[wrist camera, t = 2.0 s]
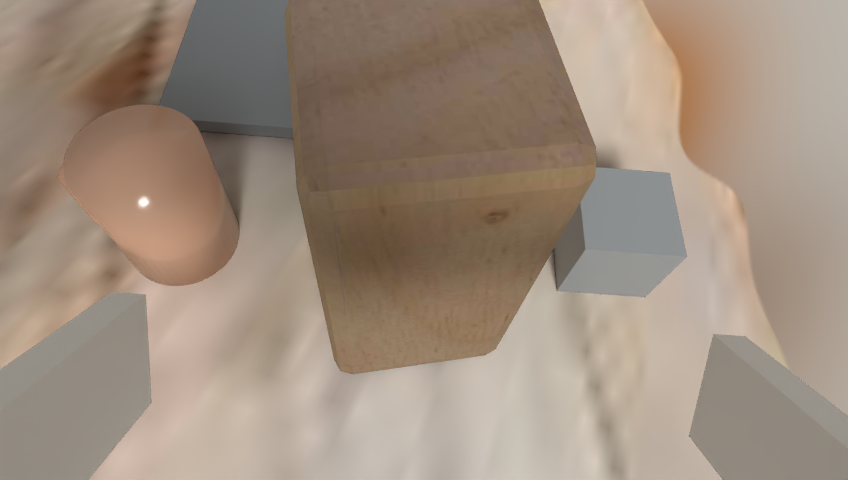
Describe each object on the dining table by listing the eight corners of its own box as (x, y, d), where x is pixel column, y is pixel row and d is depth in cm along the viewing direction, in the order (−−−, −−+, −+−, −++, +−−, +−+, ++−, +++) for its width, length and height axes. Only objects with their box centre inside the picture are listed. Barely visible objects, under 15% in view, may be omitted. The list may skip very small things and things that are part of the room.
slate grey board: (160, 127, 42) (154, 117, 41) (209, -14, 50) (205, -26, 49) (402, 147, 43) (403, 137, 42) (413, 5, 50) (414, -7, 49)
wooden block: (498, 357, 35) (617, 165, 18) (337, 381, 34) (294, 197, 16) (466, 221, 40) (535, -38, 22) (323, 236, 38) (279, -27, 21)
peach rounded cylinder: (248, 197, 40) (216, 109, 32) (226, 289, 36) (185, 216, 28) (127, 188, 39) (65, 97, 31) (94, 280, 36) (15, 203, 28)
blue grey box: (556, 291, 38) (585, 249, 33) (550, 215, 41) (576, 165, 36) (644, 297, 38) (687, 256, 33) (632, 221, 41) (669, 172, 36)
